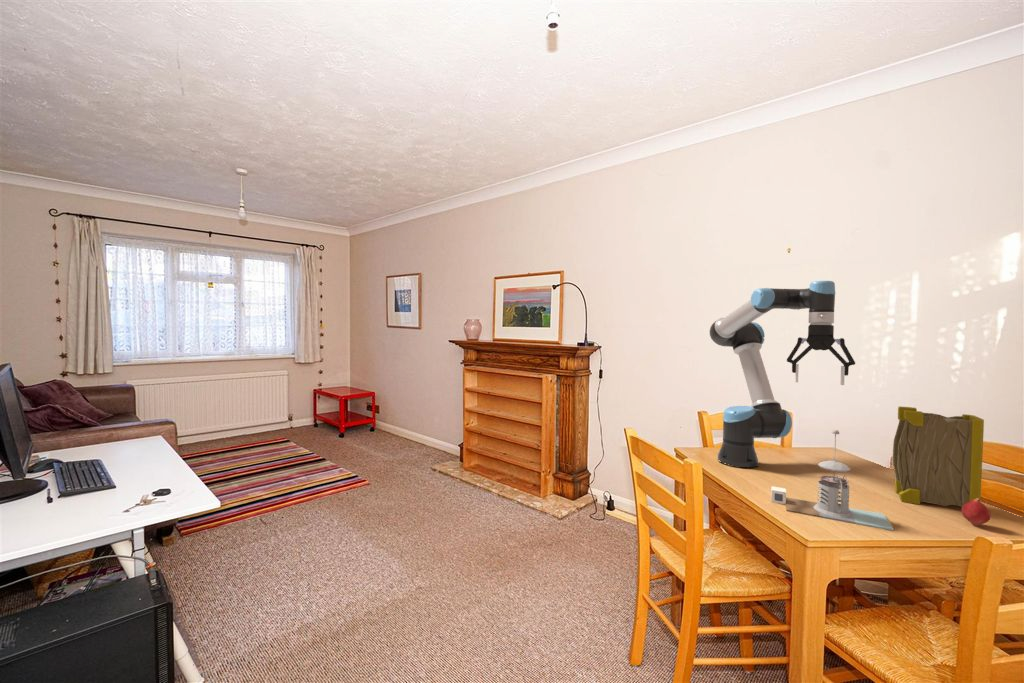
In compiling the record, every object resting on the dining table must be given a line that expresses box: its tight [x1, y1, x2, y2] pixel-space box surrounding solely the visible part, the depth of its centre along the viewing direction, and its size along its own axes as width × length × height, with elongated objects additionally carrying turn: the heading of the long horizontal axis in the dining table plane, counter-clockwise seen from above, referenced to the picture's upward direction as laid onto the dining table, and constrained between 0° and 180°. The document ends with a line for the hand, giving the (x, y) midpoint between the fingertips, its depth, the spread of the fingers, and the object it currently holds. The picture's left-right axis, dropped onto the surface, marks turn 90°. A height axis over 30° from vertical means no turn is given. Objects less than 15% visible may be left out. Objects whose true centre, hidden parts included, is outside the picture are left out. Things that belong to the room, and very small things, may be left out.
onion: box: [961, 498, 992, 527], centre depth 129 cm, size 6×6×8 cm
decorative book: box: [892, 406, 985, 508], centre depth 146 cm, size 20×11×30 cm, turn 58°
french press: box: [814, 429, 853, 517], centre depth 136 cm, size 10×12×25 cm
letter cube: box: [770, 485, 787, 506], centre depth 145 cm, size 4×4×4 cm
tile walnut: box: [785, 496, 821, 518], centre depth 141 cm, size 8×12×1 cm
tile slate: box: [816, 501, 855, 524], centre depth 136 cm, size 8×12×1 cm
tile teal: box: [849, 507, 894, 531], centre depth 132 cm, size 8×12×1 cm
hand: (818, 383), depth 161 cm, fingers open, 13 cm apart
